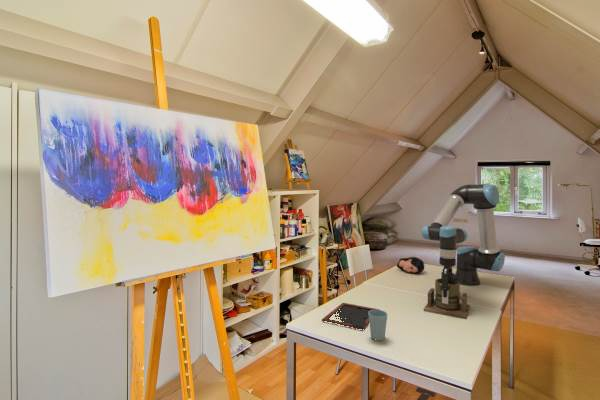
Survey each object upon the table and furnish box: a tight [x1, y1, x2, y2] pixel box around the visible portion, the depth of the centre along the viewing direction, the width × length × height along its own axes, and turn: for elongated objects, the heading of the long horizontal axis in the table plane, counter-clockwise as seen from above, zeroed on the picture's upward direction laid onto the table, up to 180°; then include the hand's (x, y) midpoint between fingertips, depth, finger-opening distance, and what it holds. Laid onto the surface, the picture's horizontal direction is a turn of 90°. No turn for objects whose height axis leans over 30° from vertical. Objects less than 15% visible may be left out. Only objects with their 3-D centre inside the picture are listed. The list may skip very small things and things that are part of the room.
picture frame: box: [321, 302, 381, 330], centre depth 157 cm, size 20×2×25 cm
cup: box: [368, 309, 388, 341], centre depth 135 cm, size 8×8×10 cm
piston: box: [434, 278, 461, 309], centre depth 166 cm, size 11×12×11 cm
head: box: [396, 256, 425, 275], centre depth 236 cm, size 12×13×20 cm
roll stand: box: [423, 287, 471, 320], centre depth 166 cm, size 18×19×8 cm
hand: (447, 299), depth 166 cm, fingers open, 11 cm apart
